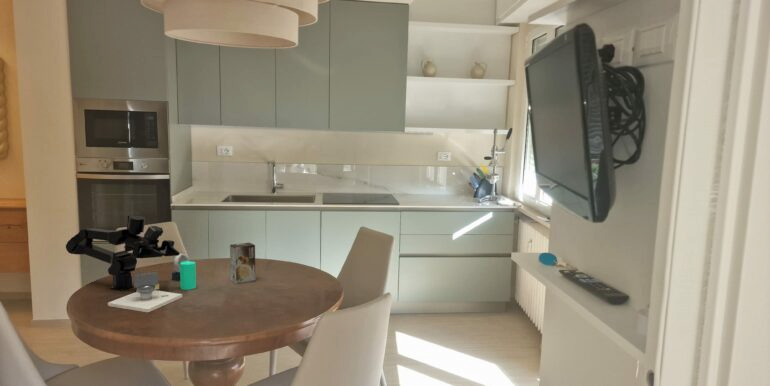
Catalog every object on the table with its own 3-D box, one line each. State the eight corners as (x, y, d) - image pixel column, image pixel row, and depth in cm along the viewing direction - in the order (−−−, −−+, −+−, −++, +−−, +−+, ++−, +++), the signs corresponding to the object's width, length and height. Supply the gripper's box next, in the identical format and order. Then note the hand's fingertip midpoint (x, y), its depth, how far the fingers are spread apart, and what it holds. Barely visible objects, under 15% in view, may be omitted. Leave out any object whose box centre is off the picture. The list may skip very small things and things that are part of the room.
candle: (190, 290, 204) (190, 261, 203) (177, 288, 206) (176, 260, 204) (198, 286, 210) (198, 258, 209) (185, 284, 211) (185, 256, 210)
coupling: (134, 294, 185) (133, 277, 184) (133, 289, 190) (133, 273, 189) (159, 291, 189) (159, 275, 188) (158, 286, 194) (158, 271, 193)
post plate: (107, 305, 184) (107, 295, 183) (144, 291, 201) (144, 281, 200) (148, 312, 179) (147, 301, 178) (182, 297, 196) (182, 287, 195)
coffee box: (249, 277, 225) (249, 242, 223) (255, 280, 220) (255, 244, 218) (229, 280, 219) (229, 244, 217) (235, 284, 214) (235, 247, 213)
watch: (191, 276, 223) (190, 252, 222) (182, 281, 215) (181, 256, 214) (179, 275, 224) (178, 251, 223) (169, 280, 216) (169, 255, 215)
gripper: (126, 224, 191) (158, 235, 186) (162, 224, 208) (192, 234, 204) (119, 252, 191) (150, 264, 186) (155, 250, 209) (185, 260, 204)
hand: (170, 254), depth 195 cm, fingers open, 9 cm apart
